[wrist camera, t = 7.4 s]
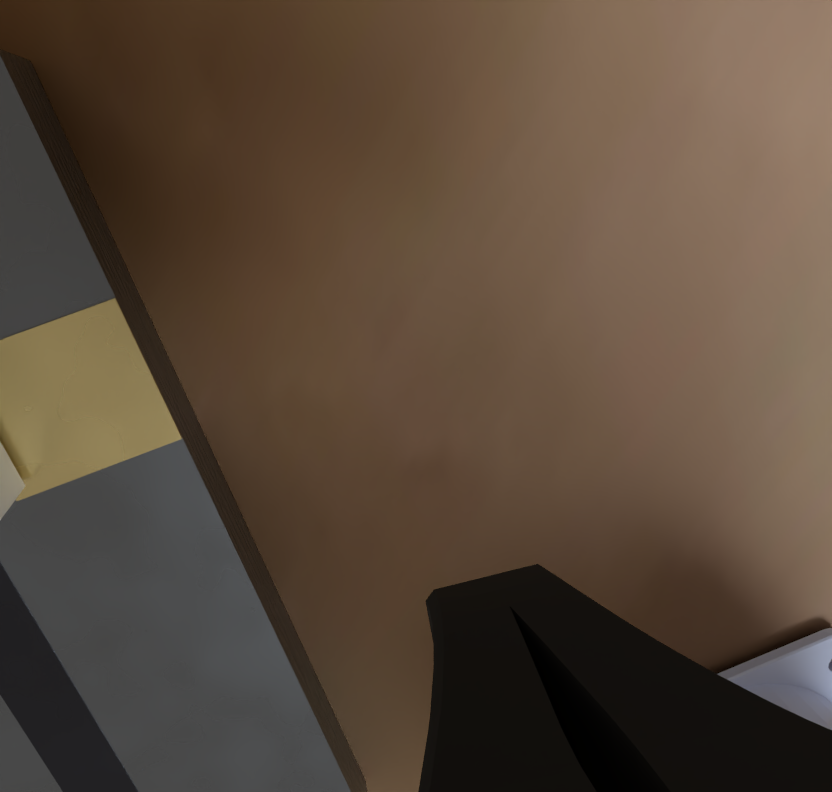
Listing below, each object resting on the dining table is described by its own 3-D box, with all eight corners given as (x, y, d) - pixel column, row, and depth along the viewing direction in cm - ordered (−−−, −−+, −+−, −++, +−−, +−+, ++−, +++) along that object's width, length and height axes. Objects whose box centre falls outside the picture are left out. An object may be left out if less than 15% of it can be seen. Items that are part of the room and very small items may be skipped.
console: (365, 781, 21) (375, 844, 19) (10, 928, 21) (-17, 1009, 19) (30, 61, 15) (-6, 46, 13) (-497, 240, 14) (-616, 253, 12)
